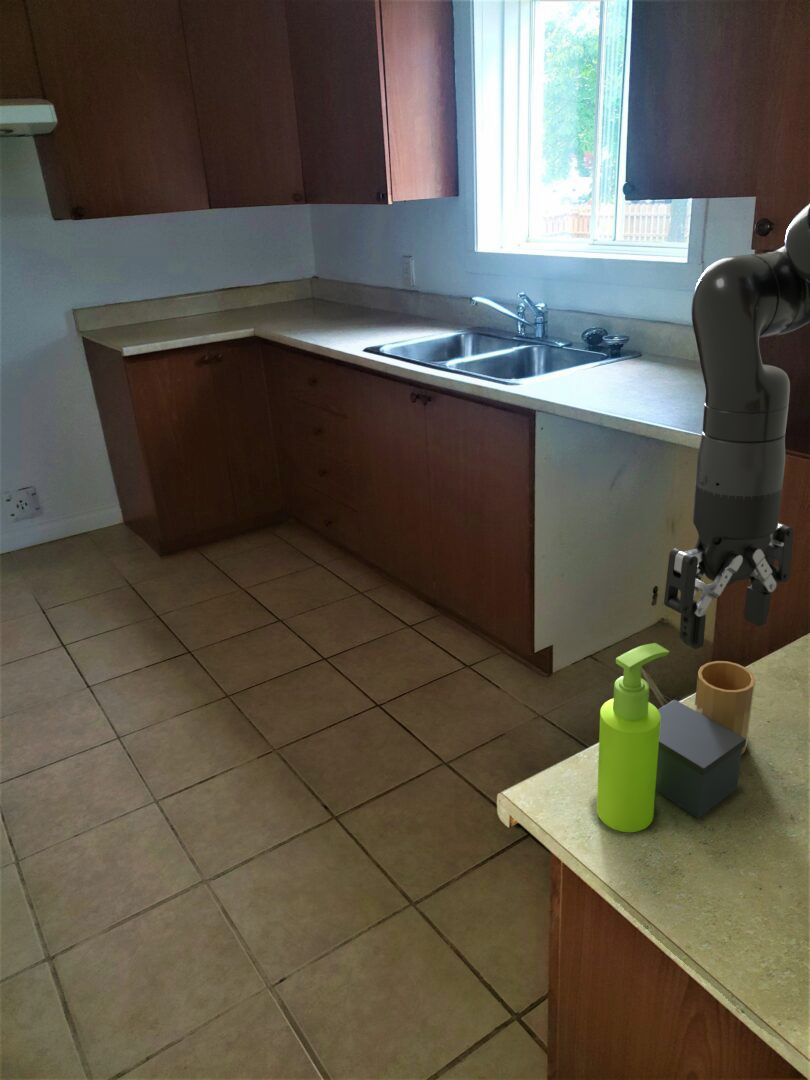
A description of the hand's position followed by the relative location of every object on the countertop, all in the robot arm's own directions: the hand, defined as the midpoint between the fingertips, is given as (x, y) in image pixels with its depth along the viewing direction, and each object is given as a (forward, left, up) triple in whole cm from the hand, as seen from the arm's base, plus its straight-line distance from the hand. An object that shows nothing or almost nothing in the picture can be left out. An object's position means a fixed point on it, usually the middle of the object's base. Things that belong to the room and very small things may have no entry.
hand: (724, 633), depth 82 cm
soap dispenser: (+3, +9, -20) cm, 22 cm away
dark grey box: (+2, +2, -20) cm, 20 cm away
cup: (+3, -7, -20) cm, 21 cm away
